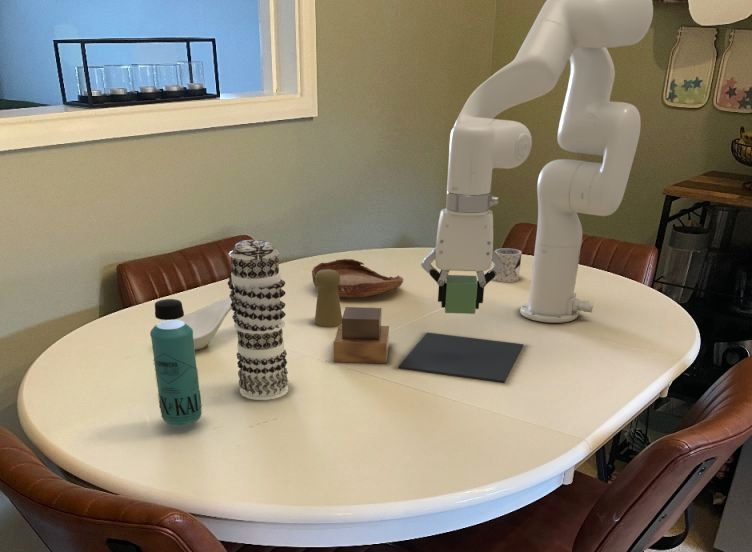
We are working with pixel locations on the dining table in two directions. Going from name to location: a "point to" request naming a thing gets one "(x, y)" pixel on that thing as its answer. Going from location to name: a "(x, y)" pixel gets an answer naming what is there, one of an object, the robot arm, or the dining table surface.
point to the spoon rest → (207, 321)
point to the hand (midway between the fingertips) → (459, 305)
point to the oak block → (361, 348)
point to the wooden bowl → (357, 278)
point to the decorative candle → (258, 319)
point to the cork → (328, 299)
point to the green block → (461, 294)
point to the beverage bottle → (175, 365)
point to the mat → (463, 357)
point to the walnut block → (361, 323)
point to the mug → (509, 264)
